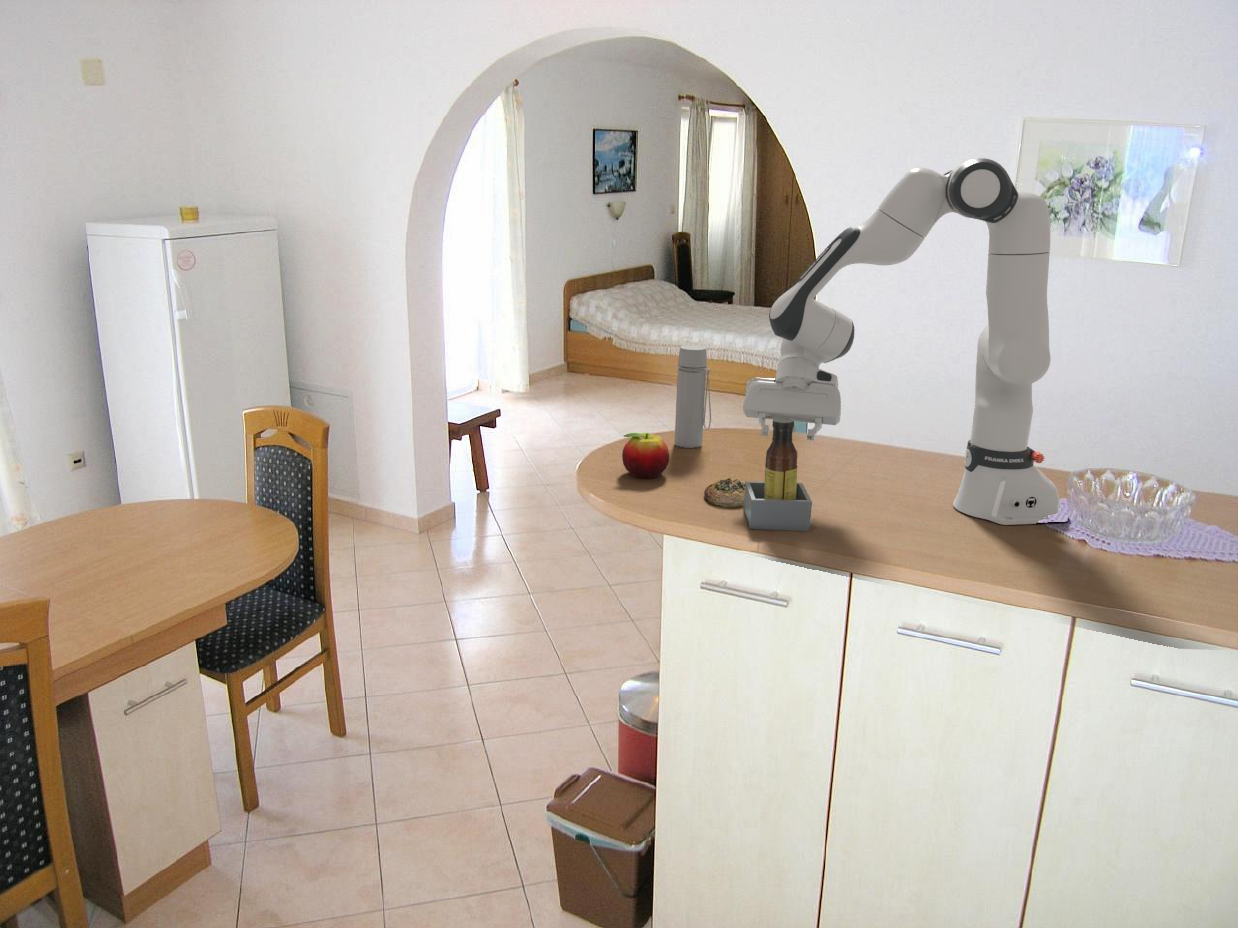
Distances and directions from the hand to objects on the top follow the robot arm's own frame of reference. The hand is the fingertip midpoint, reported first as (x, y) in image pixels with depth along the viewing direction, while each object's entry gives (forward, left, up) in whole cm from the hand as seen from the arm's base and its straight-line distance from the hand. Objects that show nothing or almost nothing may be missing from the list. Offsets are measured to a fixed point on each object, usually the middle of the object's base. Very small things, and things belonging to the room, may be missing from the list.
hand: (787, 436), depth 197 cm
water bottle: (+17, -41, -15) cm, 47 cm away
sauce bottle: (+3, +12, -14) cm, 18 cm away
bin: (+3, +11, -14) cm, 18 cm away
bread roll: (+11, -1, -15) cm, 19 cm away
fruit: (+29, -16, -15) cm, 36 cm away
